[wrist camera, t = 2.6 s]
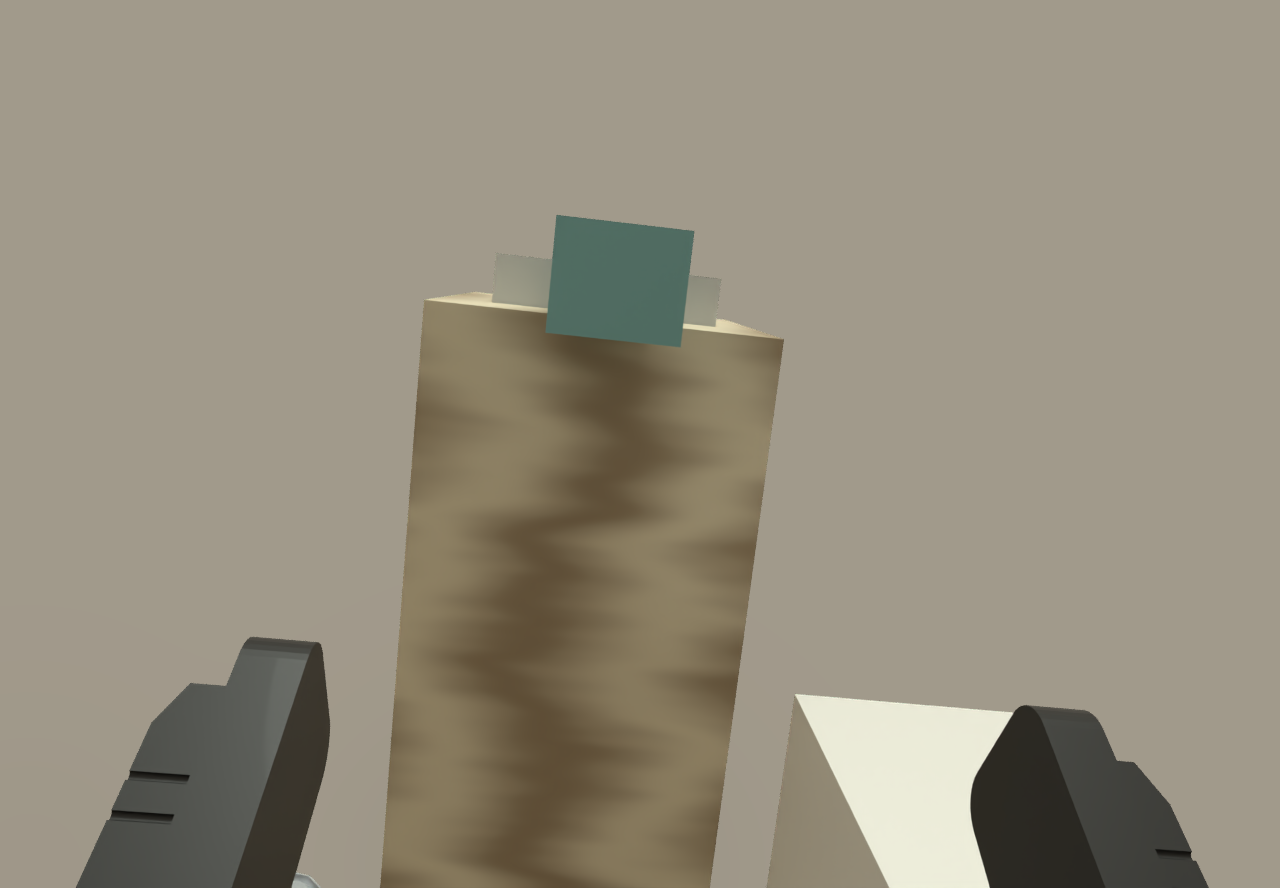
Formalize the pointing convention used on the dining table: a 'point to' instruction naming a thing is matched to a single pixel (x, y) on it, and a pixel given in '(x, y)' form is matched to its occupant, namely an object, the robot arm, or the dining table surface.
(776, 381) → the tall wooden block
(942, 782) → the white block
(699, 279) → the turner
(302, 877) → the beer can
